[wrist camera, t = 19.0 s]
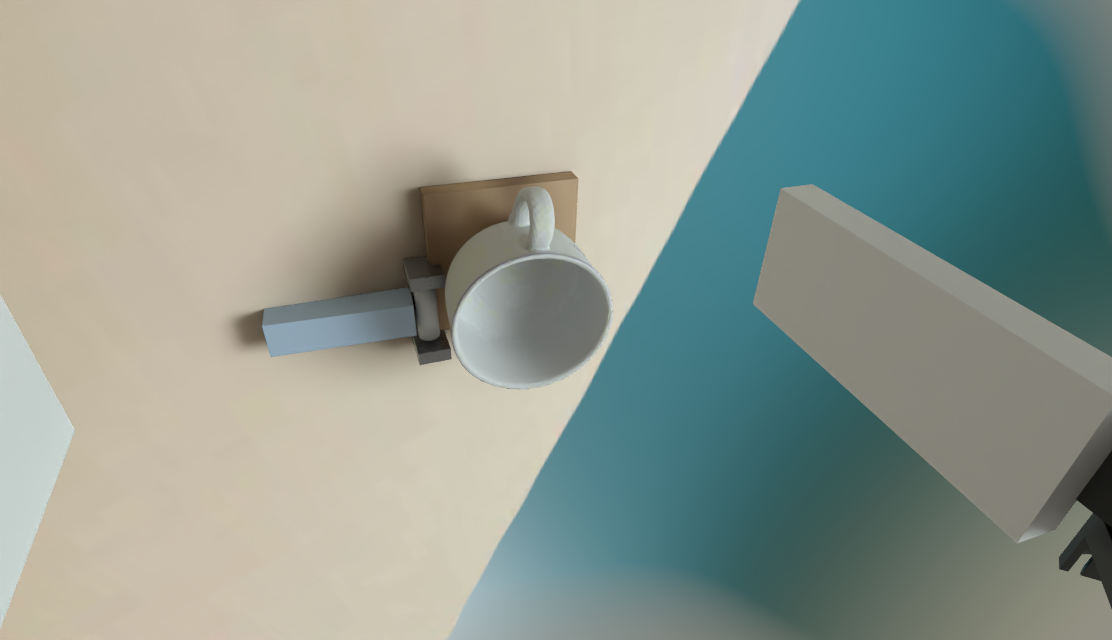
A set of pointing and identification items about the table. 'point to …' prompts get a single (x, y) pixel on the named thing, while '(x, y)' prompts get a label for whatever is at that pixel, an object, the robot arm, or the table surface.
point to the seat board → (485, 215)
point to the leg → (350, 321)
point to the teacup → (525, 300)
